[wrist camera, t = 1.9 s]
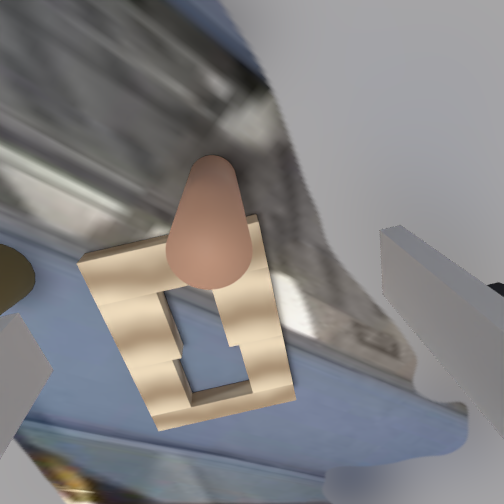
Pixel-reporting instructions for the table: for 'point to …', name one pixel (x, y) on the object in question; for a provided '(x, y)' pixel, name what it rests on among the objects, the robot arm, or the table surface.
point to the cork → (14, 277)
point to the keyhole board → (169, 341)
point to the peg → (210, 228)
